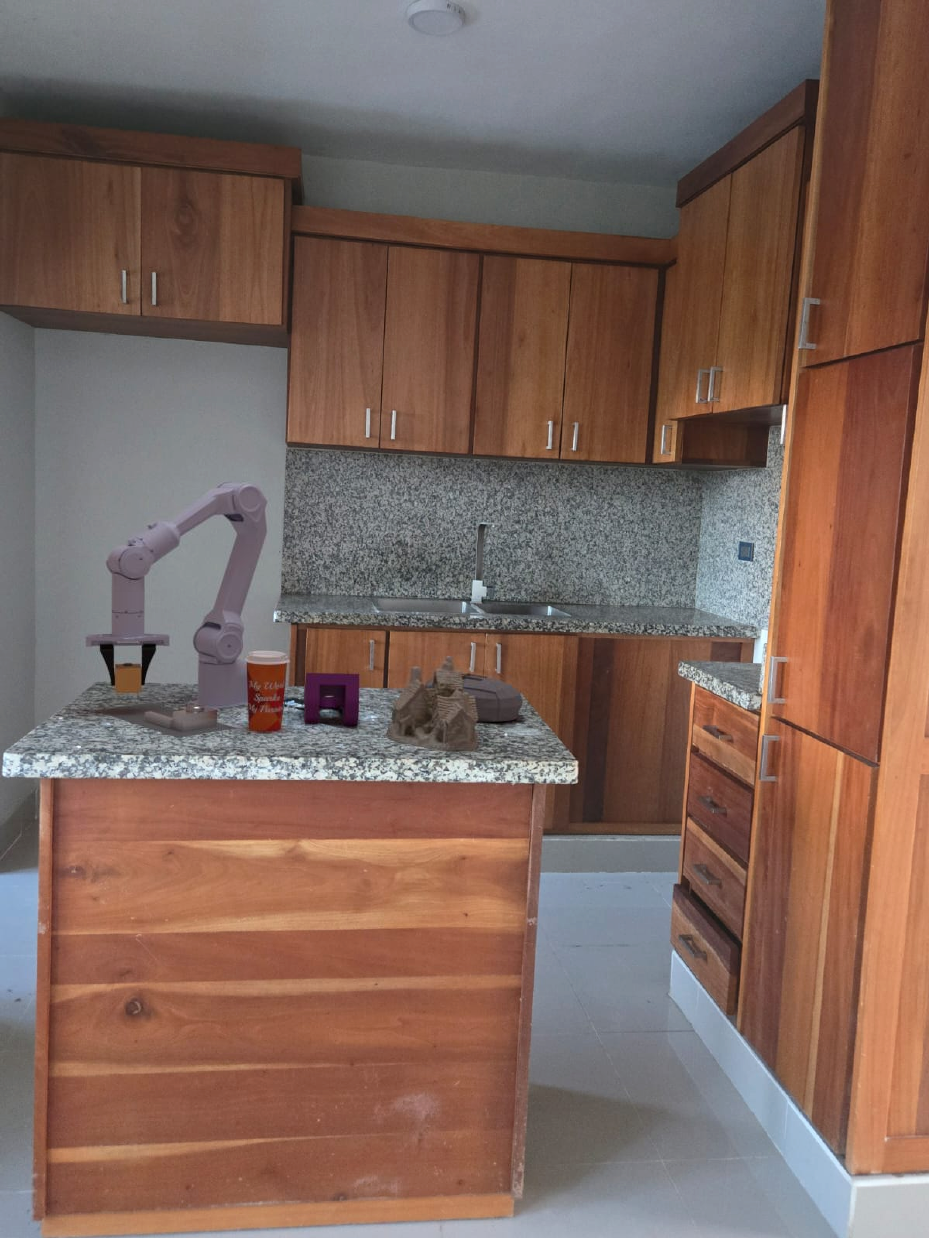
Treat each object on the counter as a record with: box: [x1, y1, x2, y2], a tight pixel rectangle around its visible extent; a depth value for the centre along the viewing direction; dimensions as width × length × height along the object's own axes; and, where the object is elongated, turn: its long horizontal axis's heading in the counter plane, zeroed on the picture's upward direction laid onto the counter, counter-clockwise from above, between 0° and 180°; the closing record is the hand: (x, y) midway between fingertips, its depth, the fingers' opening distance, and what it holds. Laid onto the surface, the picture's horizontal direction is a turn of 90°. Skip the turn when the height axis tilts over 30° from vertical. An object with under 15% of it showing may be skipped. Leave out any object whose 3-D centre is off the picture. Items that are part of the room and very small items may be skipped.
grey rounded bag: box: [424, 672, 524, 723], centre depth 200 cm, size 15×8×20 cm
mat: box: [94, 702, 236, 738], centre depth 181 cm, size 12×27×1 cm, turn 49°
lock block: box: [114, 662, 142, 694], centre depth 184 cm, size 4×6×5 cm
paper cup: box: [244, 650, 291, 733], centre depth 177 cm, size 8×8×14 cm
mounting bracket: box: [303, 672, 360, 726], centre depth 191 cm, size 10×9×19 cm
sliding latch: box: [145, 703, 218, 732], centre depth 178 cm, size 8×11×4 cm
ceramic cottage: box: [385, 655, 479, 752], centre depth 177 cm, size 16×16×15 cm
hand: (127, 684), depth 185 cm, fingers closed on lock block, 4 cm apart
